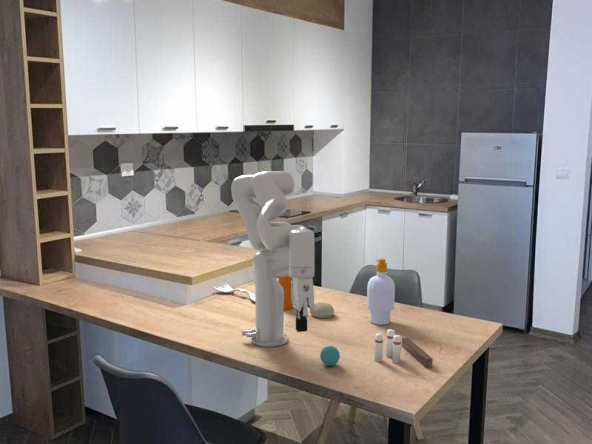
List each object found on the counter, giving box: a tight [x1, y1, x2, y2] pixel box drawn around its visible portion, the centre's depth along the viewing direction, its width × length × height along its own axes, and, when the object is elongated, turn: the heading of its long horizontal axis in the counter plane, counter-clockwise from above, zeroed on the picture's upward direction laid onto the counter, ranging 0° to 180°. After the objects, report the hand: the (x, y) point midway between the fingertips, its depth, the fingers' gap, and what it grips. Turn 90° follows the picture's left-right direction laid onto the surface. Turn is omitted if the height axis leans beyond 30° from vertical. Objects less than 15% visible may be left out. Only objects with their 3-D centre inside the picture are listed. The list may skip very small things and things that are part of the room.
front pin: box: [374, 332, 384, 363], centre depth 186 cm, size 2×2×8 cm
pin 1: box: [385, 329, 396, 358], centre depth 190 cm, size 2×2×8 cm
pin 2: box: [391, 334, 402, 365], centre depth 185 cm, size 2×2×8 cm
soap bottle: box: [366, 258, 396, 326], centre depth 219 cm, size 10×10×24 cm
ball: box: [320, 345, 341, 367], centre depth 182 cm, size 6×6×6 cm
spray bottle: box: [277, 276, 294, 311], centre depth 233 cm, size 7×11×26 cm, turn 159°
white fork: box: [212, 282, 256, 303], centre depth 250 cm, size 9×32×4 cm, turn 53°
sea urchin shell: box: [309, 302, 335, 319], centre depth 228 cm, size 9×8×8 cm
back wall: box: [401, 337, 434, 369], centre depth 190 cm, size 2×18×3 cm, turn 14°
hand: (301, 330), depth 178 cm, fingers closed
